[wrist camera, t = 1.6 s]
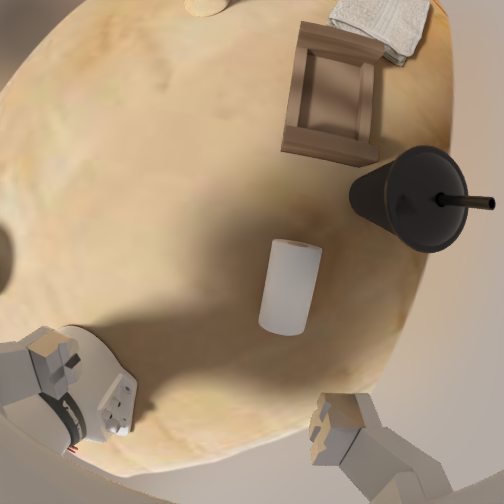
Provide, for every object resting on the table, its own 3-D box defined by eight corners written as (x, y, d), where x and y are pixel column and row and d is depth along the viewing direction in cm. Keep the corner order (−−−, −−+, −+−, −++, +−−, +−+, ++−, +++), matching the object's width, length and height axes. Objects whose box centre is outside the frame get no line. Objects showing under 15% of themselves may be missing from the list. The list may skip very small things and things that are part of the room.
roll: (304, 319, 33) (304, 339, 28) (261, 311, 33) (254, 330, 28) (320, 245, 31) (324, 253, 26) (275, 236, 32) (270, 242, 26)
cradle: (358, 167, 29) (378, 161, 23) (280, 151, 29) (283, 140, 23) (367, 64, 26) (384, 42, 20) (296, 46, 27) (301, 21, 21)
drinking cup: (331, 224, 30) (426, 267, 11) (341, 157, 29) (443, 107, 9) (391, 235, 30) (514, 283, 11) (400, 172, 29) (529, 157, 9)
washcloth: (321, 29, 26) (325, 17, 23) (358, -31, 23) (362, -42, 20) (403, 74, 27) (413, 65, 24) (425, 5, 23) (432, -3, 20)
